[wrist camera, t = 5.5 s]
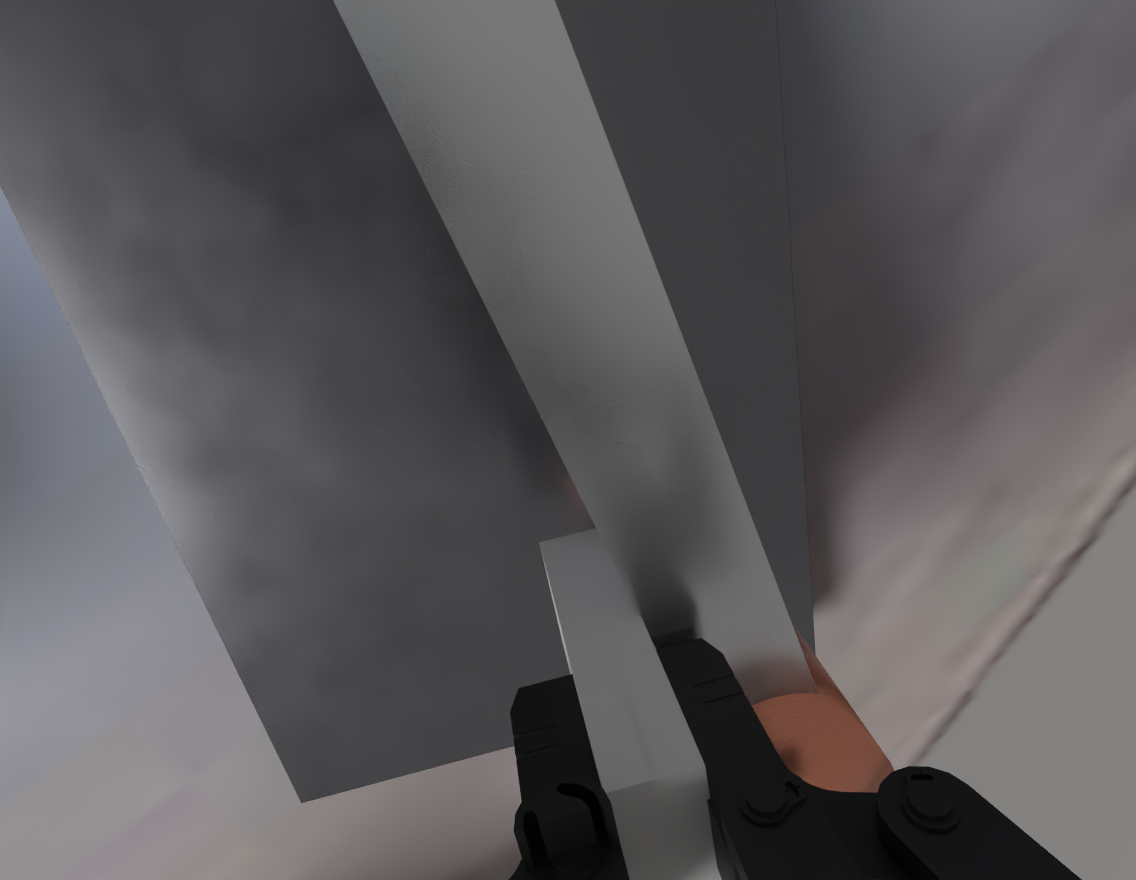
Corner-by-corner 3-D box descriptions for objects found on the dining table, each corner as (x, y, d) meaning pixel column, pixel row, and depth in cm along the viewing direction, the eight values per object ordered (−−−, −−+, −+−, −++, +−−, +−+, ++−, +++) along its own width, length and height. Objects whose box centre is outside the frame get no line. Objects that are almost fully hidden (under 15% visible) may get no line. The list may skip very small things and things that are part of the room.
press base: (-365, -722, 11) (-1160, -1552, 6) (672, -850, 12) (867, -1647, 7) (311, 751, 24) (274, 942, 18) (788, 624, 25) (888, 769, 19)
